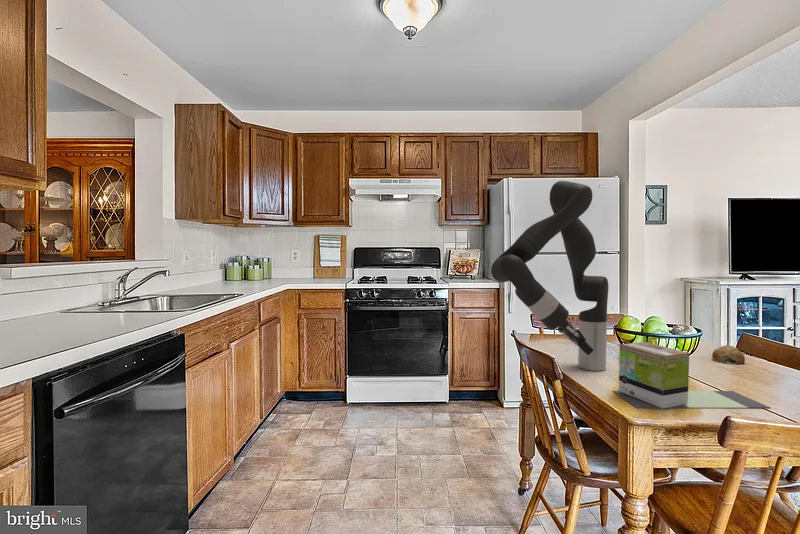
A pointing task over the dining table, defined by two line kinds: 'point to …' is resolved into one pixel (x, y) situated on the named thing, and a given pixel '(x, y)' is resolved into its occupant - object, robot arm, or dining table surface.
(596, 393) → the dining table surface
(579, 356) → the robot arm
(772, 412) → the dining table surface
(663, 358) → the tea box
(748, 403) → the mat
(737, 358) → the bread roll
